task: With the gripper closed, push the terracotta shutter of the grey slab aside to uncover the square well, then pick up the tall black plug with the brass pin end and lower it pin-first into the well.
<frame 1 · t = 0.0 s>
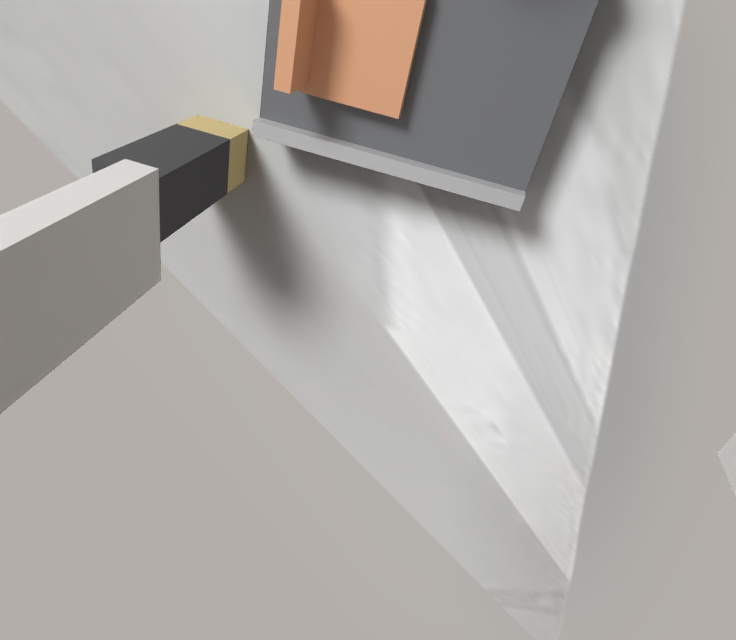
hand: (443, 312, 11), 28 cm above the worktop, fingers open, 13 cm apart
plug: (221, 148, 41), on the worktop
shutter: (349, 43, 30), point 5 cm above the worktop, slide at 0.0 cm
grey slab: (420, 48, 34), on the worktop
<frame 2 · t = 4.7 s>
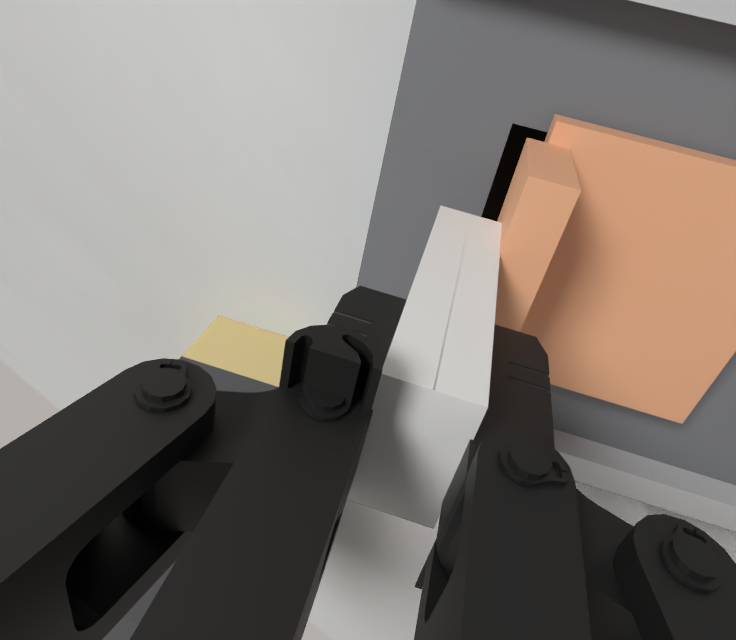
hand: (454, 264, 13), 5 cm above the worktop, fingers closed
plug: (258, 365, 24), on the worktop
shutter: (623, 309, 13), point 5 cm above the worktop, slide at 1.1 cm, touching gripper
grey slab: (667, 246, 17), on the worktop
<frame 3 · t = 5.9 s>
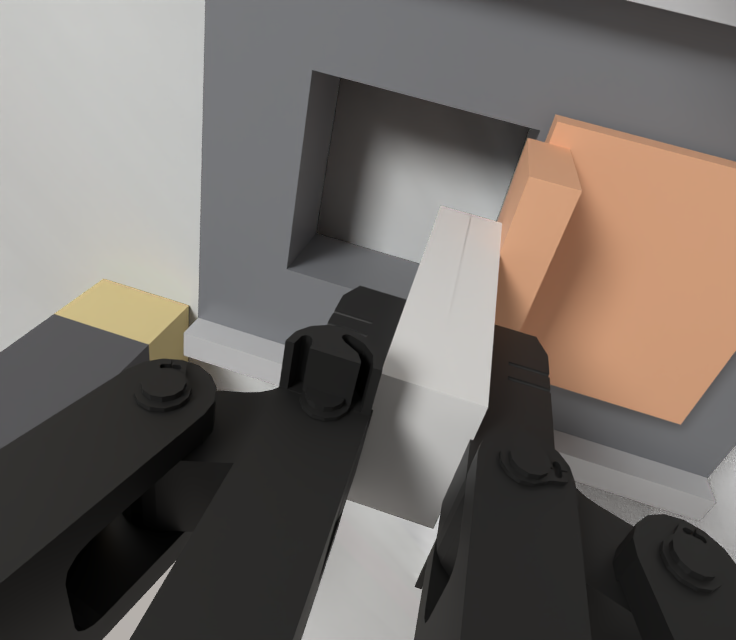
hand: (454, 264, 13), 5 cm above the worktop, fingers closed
plug: (147, 329, 24), on the worktop
shutter: (623, 310, 13), point 5 cm above the worktop, slide at 6.4 cm, touching gripper
grey slab: (503, 201, 18), on the worktop
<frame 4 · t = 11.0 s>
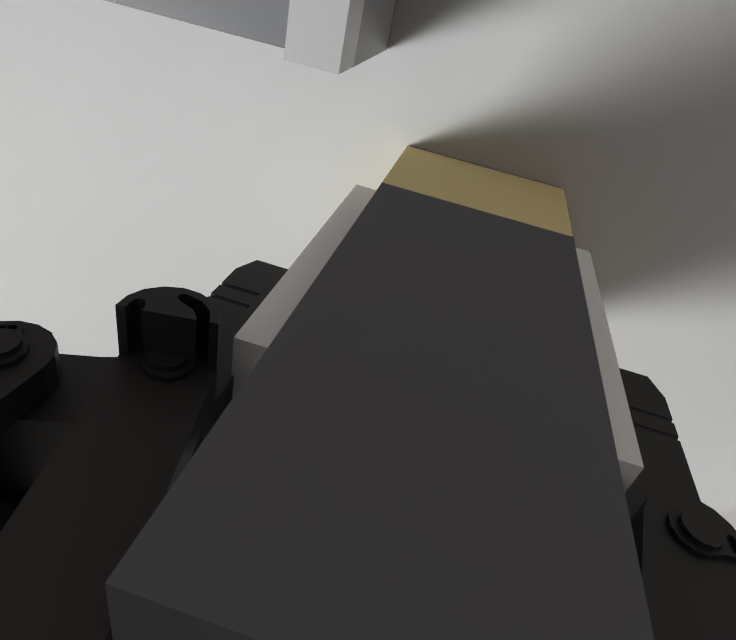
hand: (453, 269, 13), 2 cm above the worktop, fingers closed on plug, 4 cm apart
plug: (460, 238, 15), on the worktop, touching gripper
when the fingers open (4 cm above the worktop, at t = 15.3 s): plug drops 2 cm, resting in grey slab.
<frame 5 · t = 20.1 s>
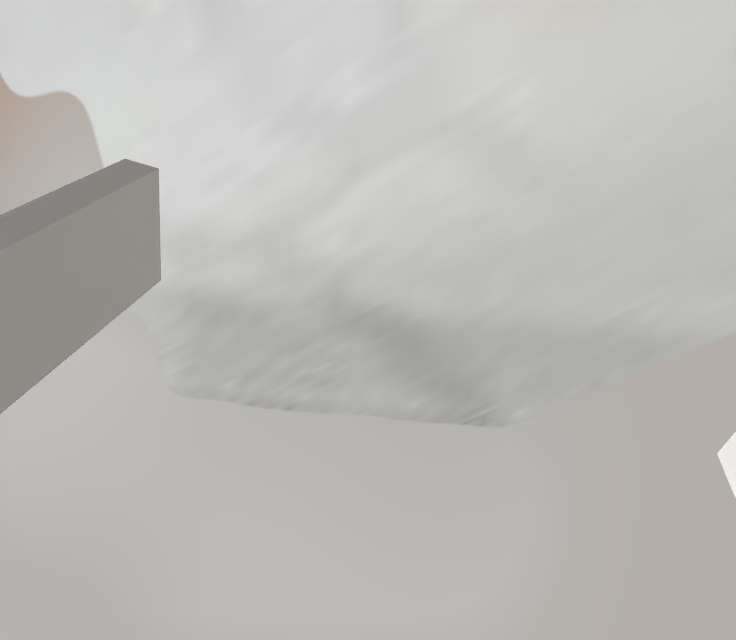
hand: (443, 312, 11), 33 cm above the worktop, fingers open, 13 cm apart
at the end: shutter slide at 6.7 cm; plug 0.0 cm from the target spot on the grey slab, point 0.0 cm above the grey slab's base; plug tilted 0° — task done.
